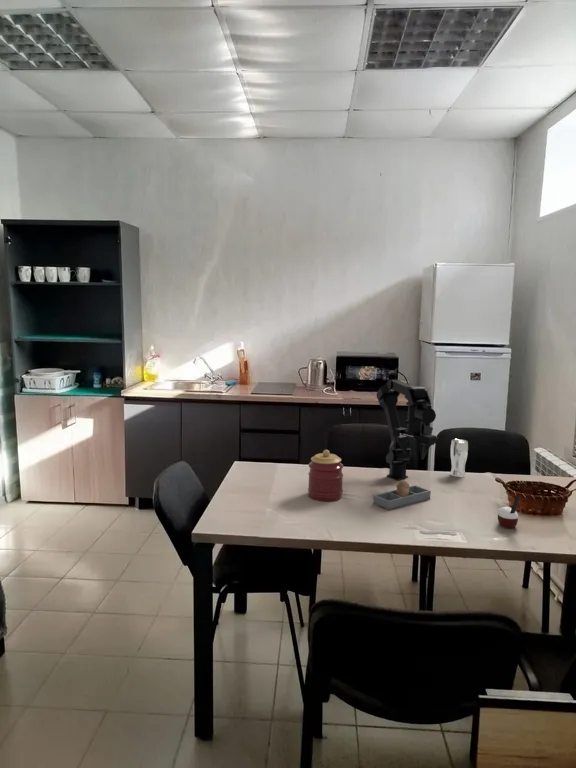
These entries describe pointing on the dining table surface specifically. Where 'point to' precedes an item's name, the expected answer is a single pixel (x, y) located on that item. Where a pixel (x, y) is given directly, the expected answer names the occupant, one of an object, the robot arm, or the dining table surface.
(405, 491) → the brown rounded cylinder
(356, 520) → the dining table surface
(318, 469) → the canister
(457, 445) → the beer glass
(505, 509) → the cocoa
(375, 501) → the grey compartment tray
